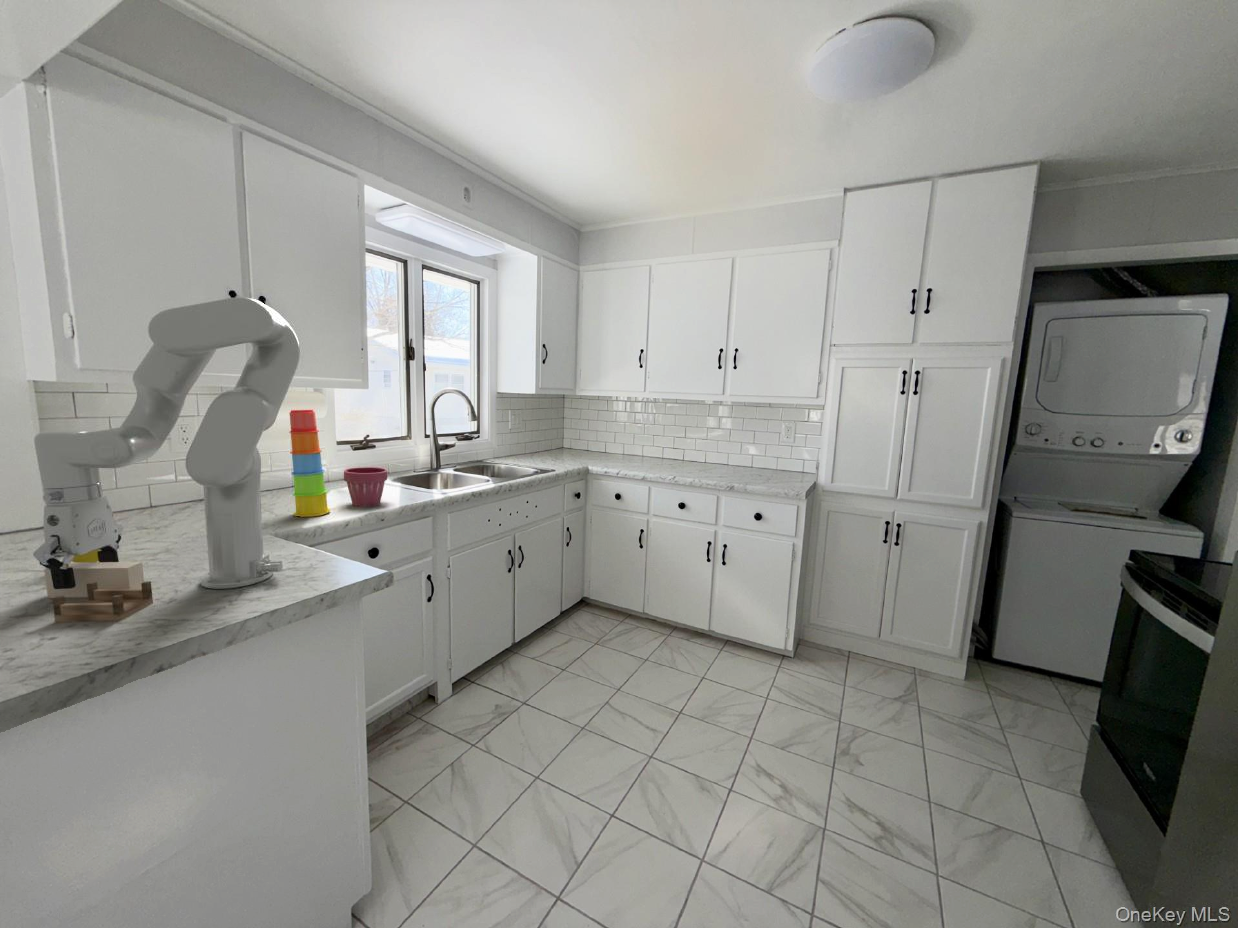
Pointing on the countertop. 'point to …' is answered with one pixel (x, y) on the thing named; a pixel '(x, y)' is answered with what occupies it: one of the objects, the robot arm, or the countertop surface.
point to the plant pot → (365, 485)
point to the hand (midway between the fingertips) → (88, 578)
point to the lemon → (87, 557)
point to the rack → (104, 604)
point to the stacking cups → (307, 465)
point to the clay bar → (99, 577)
